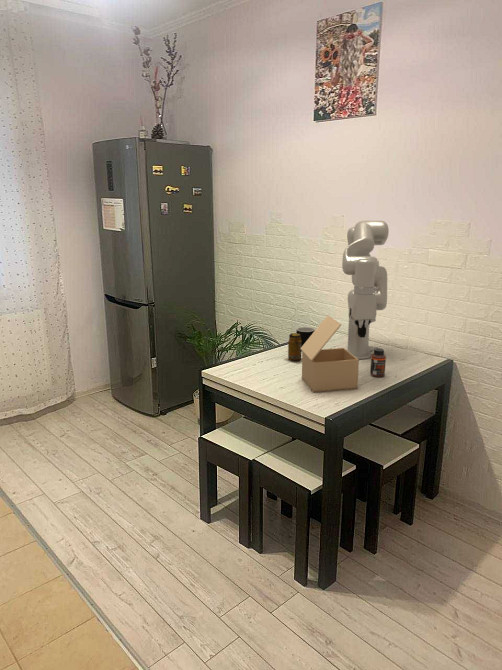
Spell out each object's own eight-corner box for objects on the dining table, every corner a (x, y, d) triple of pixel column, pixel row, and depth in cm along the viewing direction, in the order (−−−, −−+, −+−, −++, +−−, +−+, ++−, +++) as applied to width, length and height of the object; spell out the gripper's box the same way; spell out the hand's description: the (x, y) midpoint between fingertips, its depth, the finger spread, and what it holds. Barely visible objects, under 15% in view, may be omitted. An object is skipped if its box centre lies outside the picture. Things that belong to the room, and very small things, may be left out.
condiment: (295, 356, 241) (295, 331, 238) (307, 360, 235) (308, 335, 232) (283, 359, 237) (283, 334, 234) (296, 363, 231) (296, 338, 227)
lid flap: (328, 315, 207) (327, 315, 207) (341, 324, 193) (340, 324, 193) (301, 349, 209) (300, 348, 208) (312, 360, 194) (311, 359, 194)
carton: (343, 375, 216) (344, 347, 213) (357, 388, 201) (358, 359, 197) (301, 378, 213) (302, 350, 209) (313, 392, 197) (313, 362, 194)
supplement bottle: (376, 378, 211) (378, 352, 208) (367, 374, 217) (368, 348, 214) (387, 376, 214) (389, 350, 211) (378, 371, 219) (379, 346, 216)
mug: (309, 353, 246) (309, 332, 243) (292, 350, 251) (293, 330, 248) (320, 346, 255) (321, 327, 253) (304, 344, 260) (304, 324, 257)
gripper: (377, 288, 204) (375, 333, 208) (342, 290, 201) (340, 335, 206) (386, 291, 196) (383, 338, 201) (349, 293, 194) (347, 340, 198)
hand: (361, 336), depth 203 cm, fingers closed
